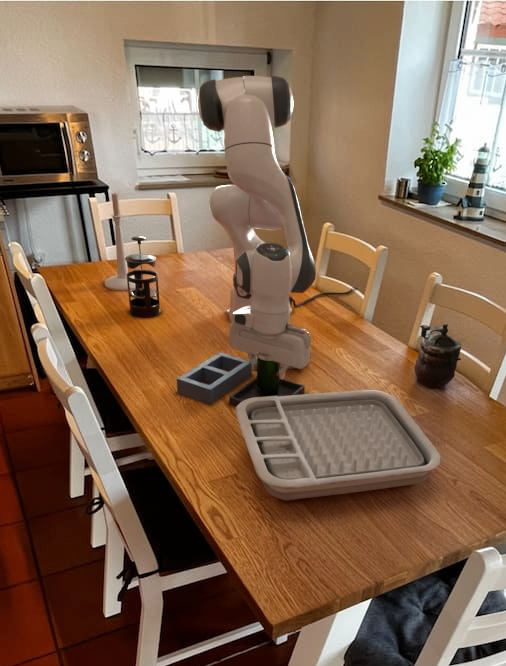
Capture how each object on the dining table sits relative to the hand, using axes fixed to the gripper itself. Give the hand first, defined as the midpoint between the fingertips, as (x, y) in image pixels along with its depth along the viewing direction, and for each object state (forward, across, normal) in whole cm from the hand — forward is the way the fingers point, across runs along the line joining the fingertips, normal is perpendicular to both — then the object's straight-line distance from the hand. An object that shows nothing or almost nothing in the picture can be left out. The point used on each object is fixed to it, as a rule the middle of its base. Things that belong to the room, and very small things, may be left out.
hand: (268, 374), depth 139 cm
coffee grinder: (+7, -32, -31) cm, 45 cm away
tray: (+7, 0, 0) cm, 7 cm away
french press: (+7, +60, -25) cm, 65 cm away
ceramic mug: (+7, +4, -19) cm, 21 cm away
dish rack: (+7, -25, +15) cm, 30 cm away
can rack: (+7, +14, +1) cm, 16 cm away
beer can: (+6, 0, 0) cm, 6 cm away
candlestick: (+7, +82, -40) cm, 91 cm away
